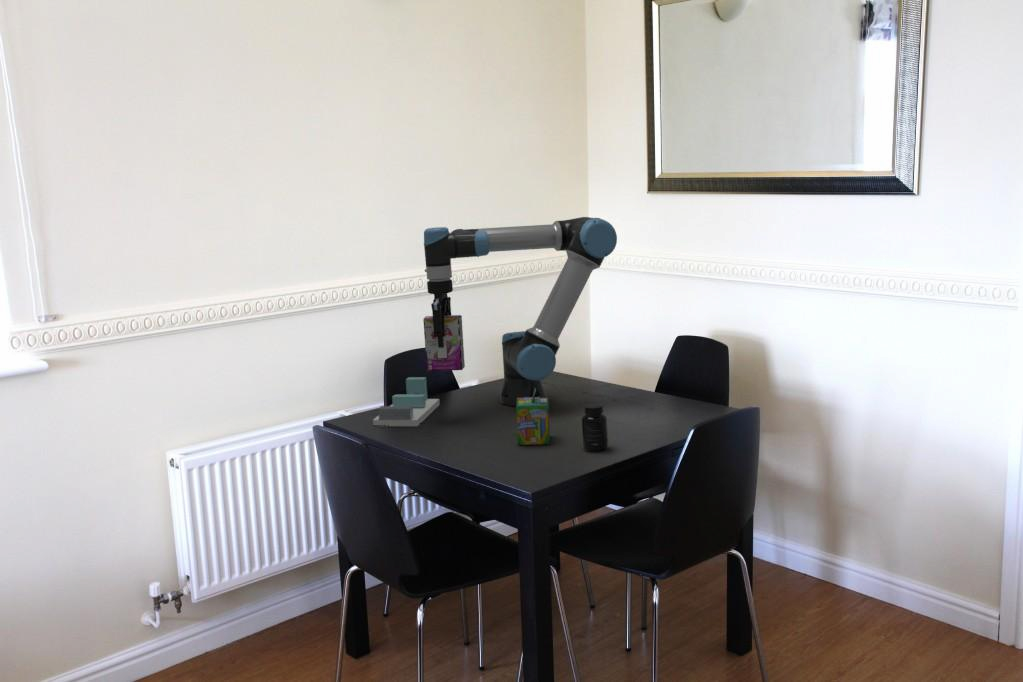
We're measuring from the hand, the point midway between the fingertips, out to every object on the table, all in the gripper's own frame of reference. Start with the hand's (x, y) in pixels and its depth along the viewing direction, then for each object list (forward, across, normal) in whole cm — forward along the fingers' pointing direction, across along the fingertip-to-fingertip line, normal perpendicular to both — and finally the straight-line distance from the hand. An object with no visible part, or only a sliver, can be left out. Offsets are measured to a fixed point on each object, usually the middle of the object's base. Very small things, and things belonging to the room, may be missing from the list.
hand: (445, 355), depth 283 cm
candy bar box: (+5, 0, 0) cm, 5 cm away
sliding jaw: (+18, -13, -15) cm, 27 cm away
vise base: (+20, -6, -15) cm, 26 cm away
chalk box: (+21, +20, +30) cm, 41 cm away
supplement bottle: (+21, +27, +48) cm, 59 cm away
